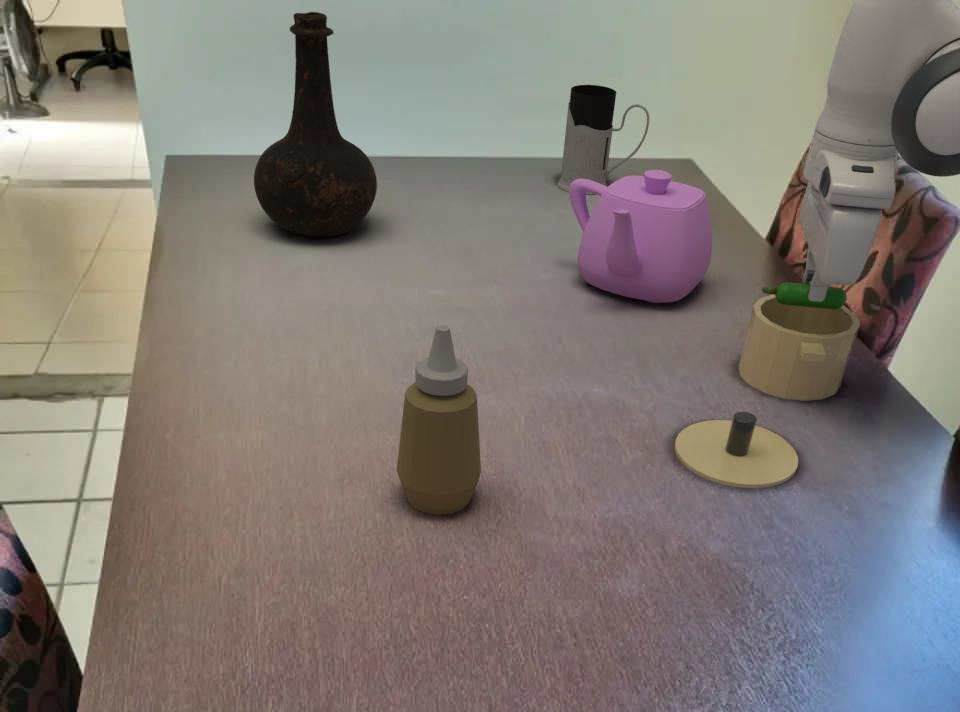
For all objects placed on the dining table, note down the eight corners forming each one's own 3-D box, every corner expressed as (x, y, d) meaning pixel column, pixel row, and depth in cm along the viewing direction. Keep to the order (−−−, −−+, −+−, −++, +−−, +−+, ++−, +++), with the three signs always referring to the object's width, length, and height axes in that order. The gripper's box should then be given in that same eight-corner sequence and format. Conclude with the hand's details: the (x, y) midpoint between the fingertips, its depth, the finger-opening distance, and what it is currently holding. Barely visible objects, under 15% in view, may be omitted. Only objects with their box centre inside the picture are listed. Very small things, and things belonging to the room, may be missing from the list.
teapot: (584, 248, 148) (597, 141, 138) (716, 280, 141) (740, 170, 131) (516, 297, 133) (525, 181, 123) (660, 337, 126) (682, 217, 116)
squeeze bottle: (495, 503, 96) (509, 329, 84) (439, 537, 91) (445, 358, 79) (436, 471, 100) (440, 300, 88) (379, 502, 95) (375, 326, 83)
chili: (841, 305, 113) (847, 285, 111) (844, 314, 111) (850, 293, 110) (758, 297, 113) (763, 276, 112) (760, 305, 112) (765, 284, 110)
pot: (826, 354, 125) (846, 290, 119) (848, 422, 112) (872, 352, 106) (732, 345, 125) (748, 280, 120) (743, 411, 112) (761, 341, 107)
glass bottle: (236, 234, 145) (211, 14, 126) (297, 200, 157) (283, -5, 138) (342, 258, 140) (333, 33, 121) (396, 220, 153) (395, 11, 134)
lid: (787, 436, 109) (800, 393, 105) (802, 500, 99) (817, 456, 96) (671, 423, 109) (680, 381, 106) (675, 486, 100) (684, 442, 96)
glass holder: (563, 175, 174) (572, 81, 164) (641, 186, 172) (656, 91, 161) (552, 190, 167) (562, 93, 157) (634, 202, 165) (649, 104, 155)
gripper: (806, 133, 110) (774, 256, 119) (834, 191, 95) (795, 327, 104) (862, 138, 109) (826, 261, 119) (899, 197, 94) (855, 333, 104)
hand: (812, 293), depth 111 cm, fingers closed on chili, 2 cm apart
